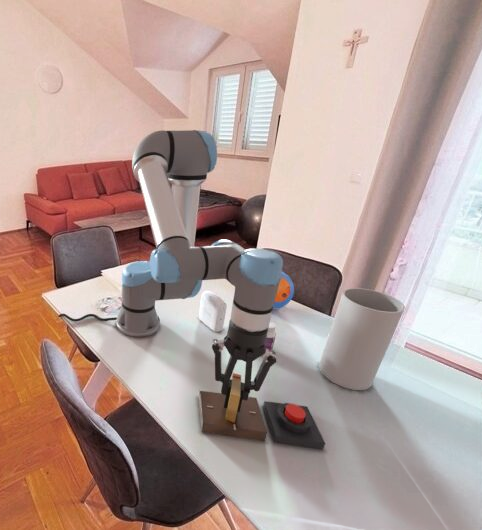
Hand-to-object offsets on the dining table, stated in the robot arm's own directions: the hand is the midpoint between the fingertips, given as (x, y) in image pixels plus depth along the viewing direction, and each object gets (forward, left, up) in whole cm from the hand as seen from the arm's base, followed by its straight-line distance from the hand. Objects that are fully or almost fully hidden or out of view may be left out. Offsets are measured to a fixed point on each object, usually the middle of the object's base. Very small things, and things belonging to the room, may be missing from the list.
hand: (231, 405), depth 75 cm
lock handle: (0, 0, -1) cm, 1 cm away
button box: (+14, 0, -4) cm, 15 cm away
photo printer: (0, +41, -5) cm, 41 cm away
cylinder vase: (+35, +21, -5) cm, 41 cm away
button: (+14, 0, -1) cm, 14 cm away
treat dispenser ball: (+24, +58, -5) cm, 63 cm away
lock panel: (0, 0, -4) cm, 4 cm away
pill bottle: (+15, +29, -5) cm, 33 cm away
